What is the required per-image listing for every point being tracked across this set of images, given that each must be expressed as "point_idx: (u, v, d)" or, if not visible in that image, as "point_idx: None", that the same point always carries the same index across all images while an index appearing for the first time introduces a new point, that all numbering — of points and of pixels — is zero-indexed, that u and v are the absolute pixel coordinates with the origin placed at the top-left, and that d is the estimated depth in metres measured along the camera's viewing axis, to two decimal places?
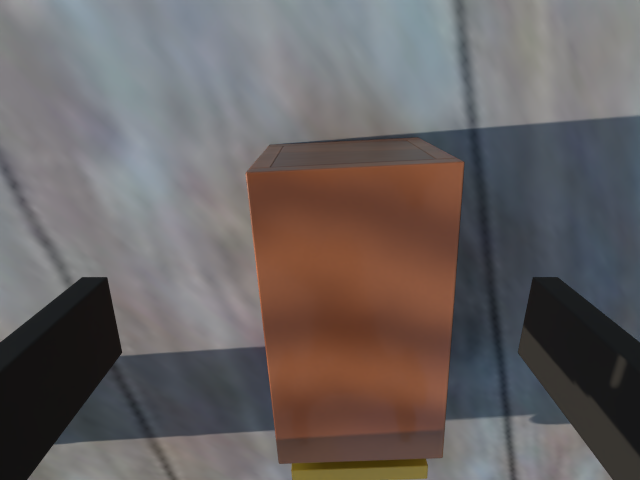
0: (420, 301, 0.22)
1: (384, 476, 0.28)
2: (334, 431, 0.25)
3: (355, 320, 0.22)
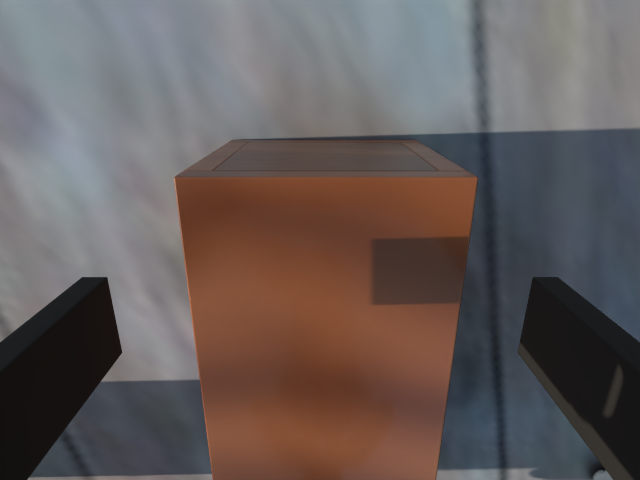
0: (408, 357, 0.17)
1: None
2: None
3: (321, 378, 0.17)
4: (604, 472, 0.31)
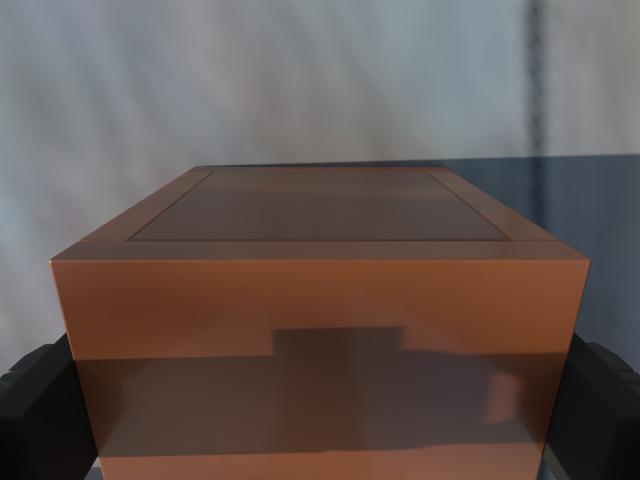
0: None
1: None
2: None
3: None
4: None
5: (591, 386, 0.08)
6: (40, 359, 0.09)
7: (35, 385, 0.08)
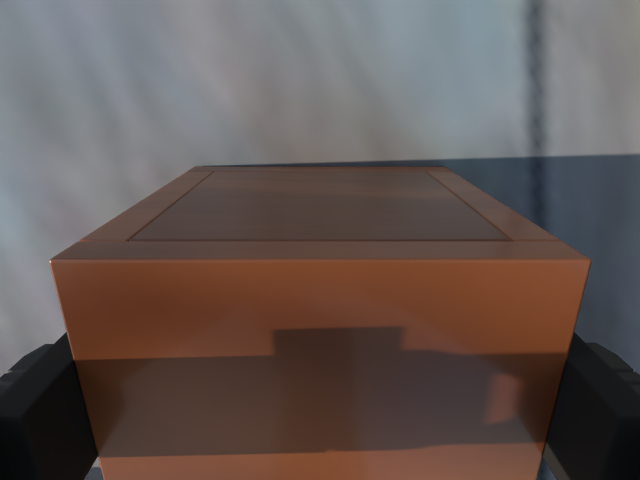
0: None
1: None
2: None
3: None
4: None
5: (591, 386, 0.08)
6: (40, 359, 0.09)
7: (35, 385, 0.08)
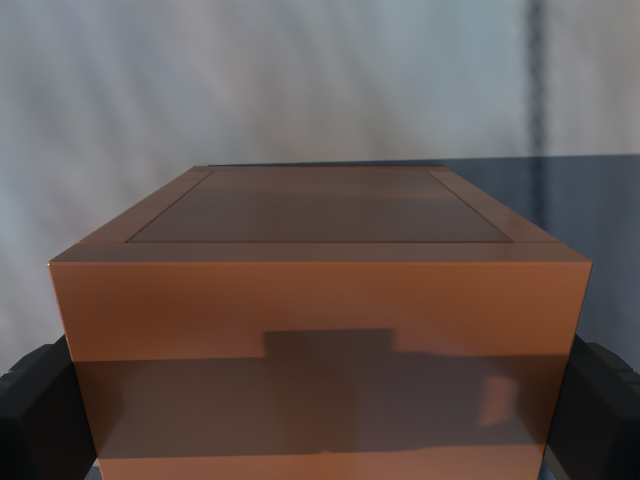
0: None
1: None
2: None
3: None
4: None
5: (591, 386, 0.08)
6: (40, 359, 0.09)
7: (35, 385, 0.08)
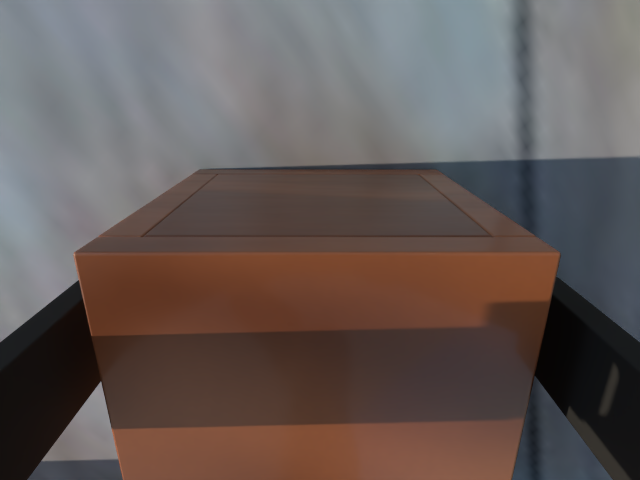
0: None
1: None
2: None
3: None
4: None
5: None
6: None
7: None
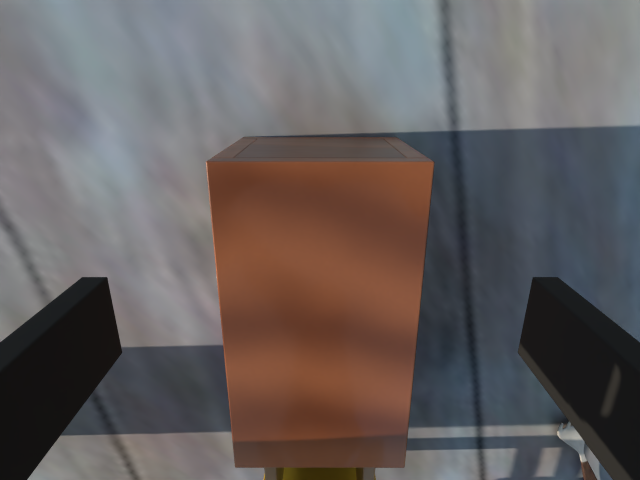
0: (385, 305, 0.21)
1: None
2: (293, 436, 0.24)
3: (317, 322, 0.21)
4: (566, 427, 0.35)
5: None
6: None
7: None
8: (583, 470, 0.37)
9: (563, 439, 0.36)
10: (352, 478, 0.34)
